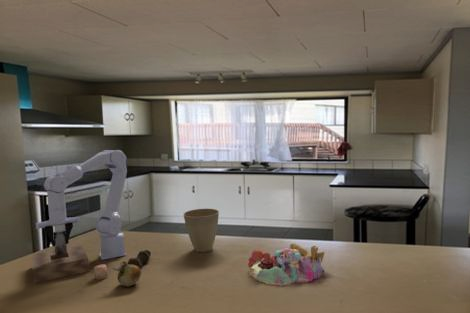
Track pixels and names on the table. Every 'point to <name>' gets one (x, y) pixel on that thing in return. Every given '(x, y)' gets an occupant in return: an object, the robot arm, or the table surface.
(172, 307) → the table surface
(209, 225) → the plant pot
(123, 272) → the onion
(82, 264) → the hole block
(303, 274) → the candy landscape model
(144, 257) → the dark brown lumpy piece
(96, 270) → the pinkish tan rounded piece
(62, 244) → the dark metallic cylinder
